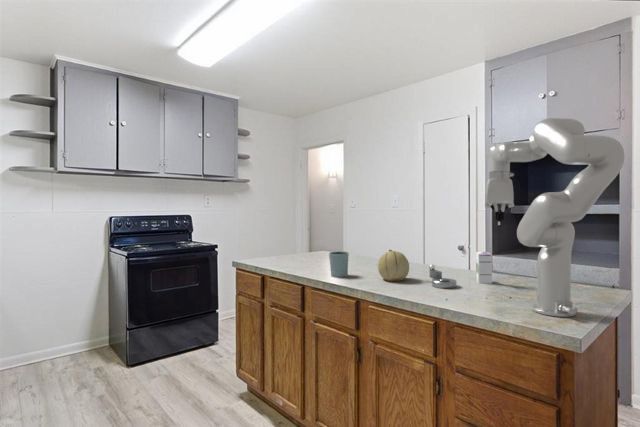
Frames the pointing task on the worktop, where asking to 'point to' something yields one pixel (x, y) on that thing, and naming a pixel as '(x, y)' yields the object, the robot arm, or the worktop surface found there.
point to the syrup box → (484, 267)
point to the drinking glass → (339, 264)
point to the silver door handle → (440, 279)
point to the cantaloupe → (393, 266)
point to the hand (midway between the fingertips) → (499, 221)
